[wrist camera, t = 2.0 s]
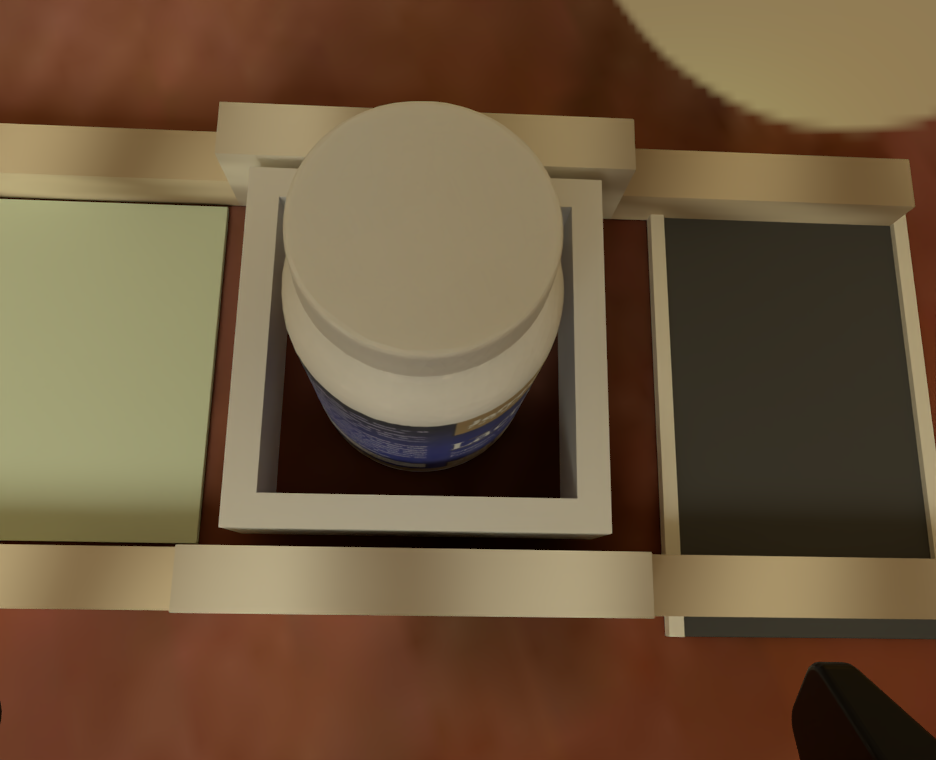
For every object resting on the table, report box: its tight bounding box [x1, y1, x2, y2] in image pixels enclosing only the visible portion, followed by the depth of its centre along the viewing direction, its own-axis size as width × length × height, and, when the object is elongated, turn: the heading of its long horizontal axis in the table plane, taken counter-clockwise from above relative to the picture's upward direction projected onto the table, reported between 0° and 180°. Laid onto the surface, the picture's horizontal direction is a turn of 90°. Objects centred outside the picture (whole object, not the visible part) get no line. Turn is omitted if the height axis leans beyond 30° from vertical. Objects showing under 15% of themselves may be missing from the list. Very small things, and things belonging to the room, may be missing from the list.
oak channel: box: [0, 102, 936, 619], centre depth 21 cm, size 28×13×3 cm, turn 89°
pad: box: [0, 199, 229, 544], centre depth 22 cm, size 8×10×1 cm
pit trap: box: [647, 214, 936, 639], centre depth 23 cm, size 8×14×1 cm, turn 179°
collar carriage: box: [218, 167, 612, 539], centre depth 21 cm, size 9×9×2 cm
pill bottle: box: [281, 101, 564, 472], centre depth 18 cm, size 6×6×10 cm
